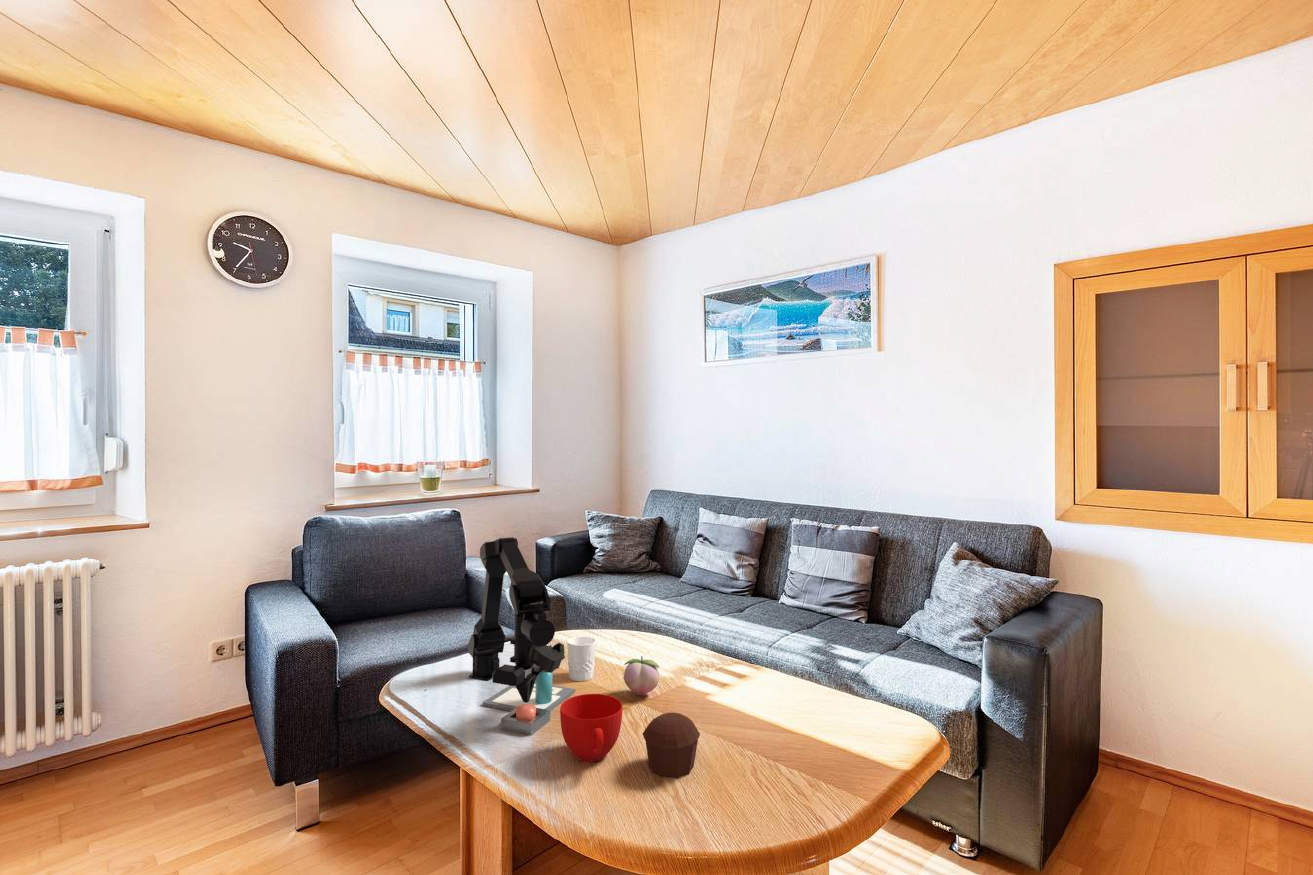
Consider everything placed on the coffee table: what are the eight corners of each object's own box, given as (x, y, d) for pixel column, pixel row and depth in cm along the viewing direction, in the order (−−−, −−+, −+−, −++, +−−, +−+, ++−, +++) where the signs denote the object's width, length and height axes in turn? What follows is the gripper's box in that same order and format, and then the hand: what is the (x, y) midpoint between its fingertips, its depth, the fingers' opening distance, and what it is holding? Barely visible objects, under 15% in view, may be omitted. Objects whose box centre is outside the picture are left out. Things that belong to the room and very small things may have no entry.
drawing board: (482, 705, 155) (482, 700, 155) (518, 682, 170) (519, 678, 170) (542, 716, 149) (542, 712, 149) (575, 692, 164) (575, 687, 164)
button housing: (500, 729, 142) (500, 718, 142) (520, 714, 150) (520, 704, 150) (531, 735, 140) (531, 724, 140) (550, 720, 147) (550, 710, 147)
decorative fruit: (661, 689, 166) (661, 651, 166) (658, 702, 158) (658, 662, 158) (625, 687, 167) (626, 649, 167) (621, 700, 159) (621, 660, 159)
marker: (531, 702, 155) (532, 665, 155) (540, 696, 158) (541, 660, 158) (546, 705, 153) (547, 667, 153) (555, 699, 157) (556, 662, 157)
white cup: (593, 682, 170) (594, 645, 170) (564, 682, 170) (565, 644, 171) (597, 671, 178) (597, 636, 178) (569, 671, 178) (569, 635, 178)
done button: (512, 725, 143) (512, 709, 143) (522, 717, 148) (523, 702, 148) (528, 729, 142) (529, 713, 142) (539, 721, 146) (539, 705, 146)
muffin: (667, 747, 135) (667, 700, 135) (710, 764, 128) (711, 714, 128) (630, 769, 126) (631, 718, 126) (674, 788, 119) (675, 735, 119)
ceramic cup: (566, 784, 120) (566, 731, 120) (556, 743, 136) (556, 696, 136) (632, 775, 123) (633, 724, 123) (615, 736, 140) (615, 690, 140)
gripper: (535, 650, 133) (534, 724, 133) (577, 626, 151) (576, 692, 150) (491, 644, 137) (490, 716, 137) (537, 621, 155) (536, 685, 154)
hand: (526, 701), depth 145 cm, fingers closed
